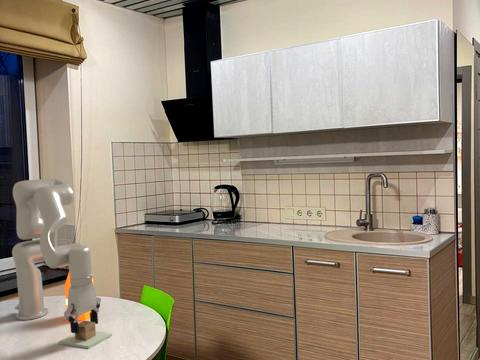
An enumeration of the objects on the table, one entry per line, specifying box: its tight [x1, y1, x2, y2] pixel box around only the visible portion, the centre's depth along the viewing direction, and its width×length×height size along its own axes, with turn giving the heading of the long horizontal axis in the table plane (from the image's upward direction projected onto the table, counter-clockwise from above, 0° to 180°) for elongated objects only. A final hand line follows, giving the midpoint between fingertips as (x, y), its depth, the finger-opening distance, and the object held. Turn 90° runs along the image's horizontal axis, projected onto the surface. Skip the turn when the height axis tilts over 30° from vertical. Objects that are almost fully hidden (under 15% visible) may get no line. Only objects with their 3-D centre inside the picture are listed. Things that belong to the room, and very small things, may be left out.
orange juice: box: [64, 271, 95, 322], centre depth 201 cm, size 8×9×20 cm
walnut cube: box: [74, 320, 96, 341], centre depth 176 cm, size 5×5×5 cm
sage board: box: [58, 331, 113, 349], centre depth 176 cm, size 14×12×1 cm
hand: (84, 328), depth 175 cm, fingers open, 9 cm apart
